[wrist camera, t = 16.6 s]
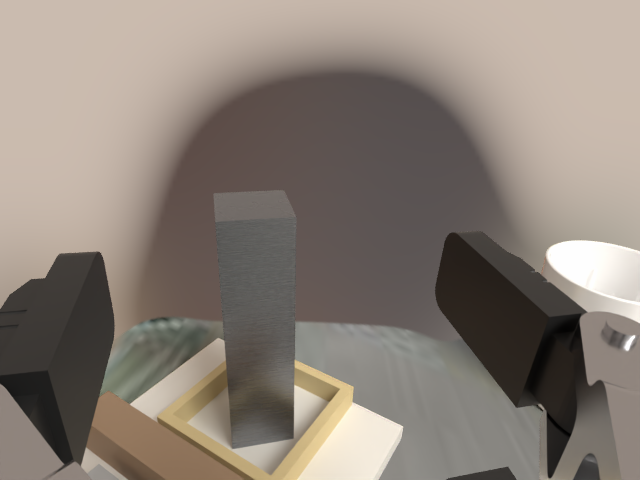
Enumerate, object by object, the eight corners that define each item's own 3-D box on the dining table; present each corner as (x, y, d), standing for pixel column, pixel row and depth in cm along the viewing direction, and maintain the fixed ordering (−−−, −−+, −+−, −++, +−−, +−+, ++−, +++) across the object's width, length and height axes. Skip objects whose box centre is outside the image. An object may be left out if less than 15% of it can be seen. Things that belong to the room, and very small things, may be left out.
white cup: (638, 460, 27) (708, 323, 22) (501, 405, 30) (538, 277, 26) (634, 379, 33) (688, 260, 29) (520, 342, 36) (552, 230, 32)
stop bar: (232, 449, 25) (215, 221, 19) (229, 402, 28) (213, 193, 22) (293, 438, 26) (296, 216, 20) (284, 394, 29) (283, 190, 23)
